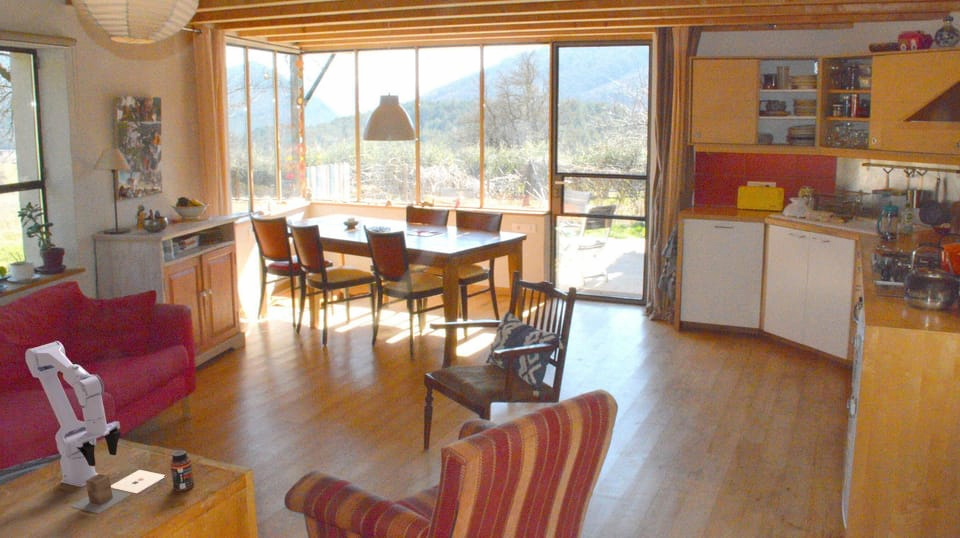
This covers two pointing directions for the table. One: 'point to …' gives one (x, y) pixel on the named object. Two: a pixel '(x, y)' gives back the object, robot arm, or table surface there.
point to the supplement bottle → (181, 471)
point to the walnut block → (99, 489)
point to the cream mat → (137, 481)
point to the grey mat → (96, 508)
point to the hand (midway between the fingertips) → (102, 459)
